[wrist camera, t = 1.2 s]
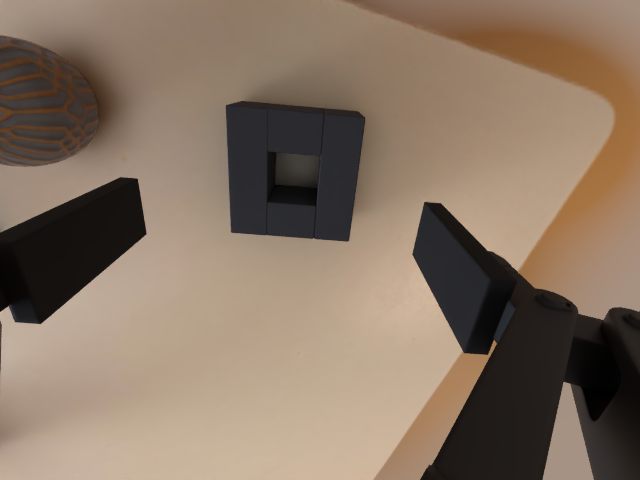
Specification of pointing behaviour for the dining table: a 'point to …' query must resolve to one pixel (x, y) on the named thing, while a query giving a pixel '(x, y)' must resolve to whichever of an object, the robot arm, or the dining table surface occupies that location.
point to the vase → (42, 106)
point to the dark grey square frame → (297, 138)
